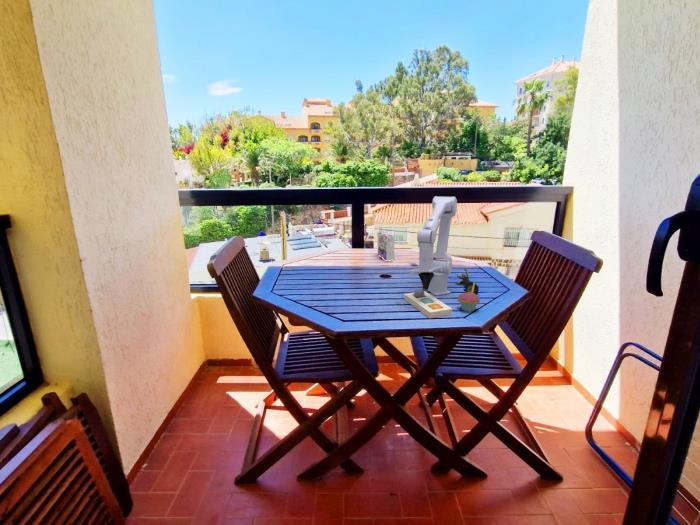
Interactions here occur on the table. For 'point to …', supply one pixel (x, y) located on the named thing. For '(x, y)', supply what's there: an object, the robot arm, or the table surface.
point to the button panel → (428, 305)
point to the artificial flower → (468, 283)
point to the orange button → (435, 306)
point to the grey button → (418, 294)
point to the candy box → (386, 245)
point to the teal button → (426, 300)
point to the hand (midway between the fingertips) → (425, 289)
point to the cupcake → (469, 300)
